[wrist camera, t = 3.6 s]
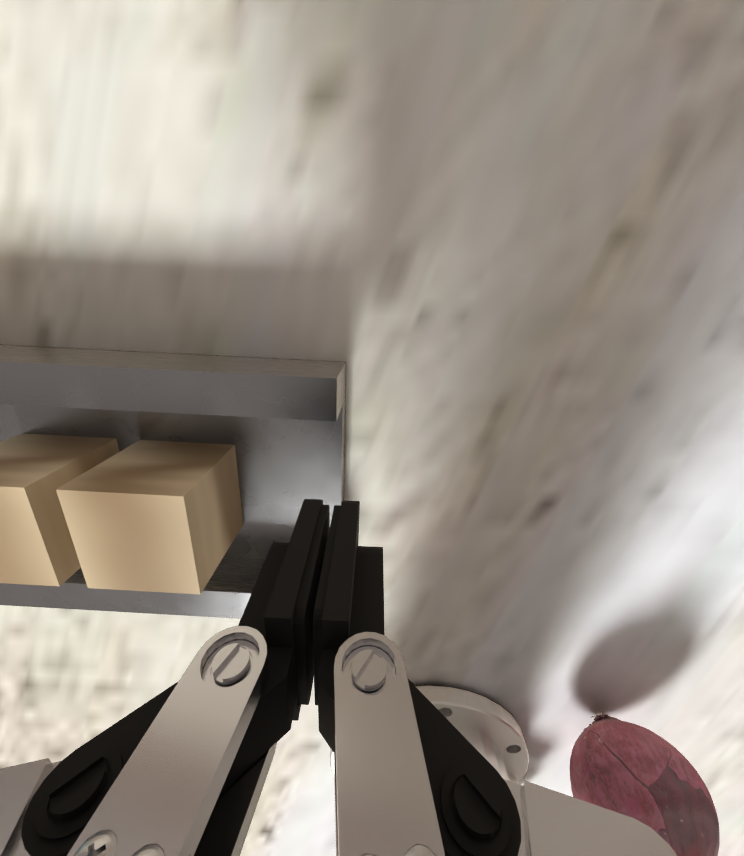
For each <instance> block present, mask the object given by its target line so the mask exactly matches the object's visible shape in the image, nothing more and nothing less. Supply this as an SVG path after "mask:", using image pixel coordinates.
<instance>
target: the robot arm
mask: <svg viewBox="0 0 744 856" xmlns="http://www.w3.org/2000/svg"><path fill="white" fill-rule="evenodd" d="M359 505H360V502H359V501H342V502H341V505H334V510H333V515H332V520H331V525H330V507H329V505H323V500H319V499H304V501H303V503H302V506H301V509H300V512H299V515H298V518H297V521H296V524H295V527H294V530H293V533H292V536H291V539H290V542H289V543H280V542H274V543H273V544H272V545H271V547H270V549H269V552H268V554H267V556H266V559H265V561H264V564H263V566H262V569H261V571H260V574H259V576H258V579H257V581H256V584H255V586H254V588H253V591H252V593H251V596H250V598H249V601H248V603H247V606H246V608H245V611H244V613H243V616H242V618H241V620H240V623H239V625H238V626H235V627H231V628H227V629H225V630H223V631H221V632H219V633H217V634H215V635H214V636H213V637H211V638H210V639H209V640H208V641H206V642H205V644H204V645H203V646H202V647H201V649H200V650H199V651H198V652H197V654H196V655H195V657H194V659H193V660H192V662H191V663H190V665H189V666H188V668H187V669H186V671H185V673H184V674H183V676H182V677H181V679H180V680H179V681H178V682H177V683H175V684H174V685H172V686H171V687H169V688H168V689H166V690H165V691H163V692H162V693H160V694H159V695H157V696H156V697H154V698H153V699H151V700H150V701H148V702H147V703H145V704H144V705H142V706H141V707H139V708H138V709H136V710H135V711H133V712H132V713H130V714H129V715H127V716H126V717H124V718H123V719H121V720H120V721H118V722H117V723H115V724H114V725H112V726H111V727H109V728H108V729H106V730H105V731H103V732H102V733H100V734H99V735H97V736H96V737H94V738H93V739H91V740H90V741H88V742H87V743H85V744H84V745H82V746H81V747H79V748H78V749H76V750H75V751H74V752H73V753H71V754H70V755H69V756H68V757H66V758H65V759H64V760H63V761H59V762H55V763H51V761H50V759H49V758H47V759H43V760H38V761H34V762H29V763H25V764H20V765H16V766H11V767H7V768H2V769H0V856H240V853H241V850H242V847H243V844H244V841H245V838H246V835H247V832H248V830H249V827H250V824H251V821H252V818H253V815H254V812H255V809H256V806H257V803H258V800H259V797H260V794H261V791H262V788H263V786H264V783H265V780H266V777H267V774H268V771H269V768H270V765H271V762H272V759H273V756H274V753H275V749H276V744H277V741H278V740H280V739H281V738H282V737H283V736H284V735H285V734H286V733H287V732H288V731H289V730H290V729H291V723H292V720H298V718H299V712H300V707H301V704H305V705H308V704H309V701H310V696H311V690H312V683H313V677H314V686H315V705H318V712H319V731H320V733H321V734H322V736H323V737H324V739H325V740H326V742H327V743H328V745H329V746H330V748H331V752H330V766H331V769H332V772H333V774H334V785H335V826H336V856H677V855H676V853H675V852H674V851H673V849H672V848H671V847H670V845H669V844H668V843H667V842H666V841H665V840H664V839H663V838H662V837H661V836H659V835H658V834H657V833H656V832H655V831H654V830H653V829H652V828H651V827H649V826H647V825H645V824H643V823H642V822H640V821H638V820H636V819H634V818H632V817H629V816H626V815H623V814H620V813H617V812H614V811H611V810H608V809H606V808H603V807H600V806H597V805H594V804H591V803H588V802H585V801H582V800H579V799H577V798H574V797H571V796H568V795H565V794H562V793H559V792H556V791H553V790H551V789H548V788H545V787H542V786H539V785H536V784H533V783H530V782H527V781H523V783H522V785H520V784H521V782H522V780H523V778H524V776H525V774H526V772H527V770H528V764H529V755H528V749H527V745H526V743H525V740H524V737H523V734H522V731H521V729H520V726H519V725H518V723H517V722H516V720H515V719H514V718H513V716H512V715H511V714H510V713H508V712H507V711H506V710H505V709H504V708H502V707H501V706H500V705H498V704H496V703H495V702H493V701H491V700H489V699H487V698H486V697H484V696H481V695H478V694H475V693H473V692H470V691H466V690H462V689H457V688H452V687H444V686H430V685H429V686H414V684H413V683H412V682H411V681H410V680H409V679H408V678H407V674H406V669H405V664H404V660H403V658H402V655H401V652H400V650H399V649H398V647H397V646H396V645H395V643H394V642H393V641H391V640H390V639H389V638H387V637H386V636H384V589H383V547H365V546H358V533H359Z"/></svg>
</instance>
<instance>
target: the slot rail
mask: <svg viewBox="0 0 744 856" xmlns="http://www.w3.org/2000/svg"><path fill="white" fill-rule="evenodd" d="M345 380H346V362H333V361H313V360H293V359H273V358H253V357H233V356H213V355H193V354H173V353H153V352H133V351H113V350H93V349H73V348H53V347H33V346H13V345H0V442H1V441H4V440H6V439H9V438H12V437H14V436H17V435H20V434H41V435H61V436H80V437H99V438H116V439H117V443H118V447H119V451H122V450H124V449H125V448H127V447H129V446H130V445H132V444H134V443H136V442H137V441H139V440H153V441H172V442H191V443H210V444H229V445H235V451H236V461H237V470H238V479H239V489H240V498H241V508H242V517H243V526H242V527H241V529H240V531H239V532H238V534H237V535H236V537H235V539H234V540H233V542H232V544H231V545H230V547H229V549H228V550H227V552H226V553H225V555H224V557H223V558H222V560H221V562H220V563H219V565H218V567H217V568H216V570H215V572H214V573H213V575H212V576H211V578H210V580H209V581H208V583H207V585H206V586H205V588H204V590H203V591H202V593H201V594H183V593H165V592H148V591H130V590H112V589H94V588H88V587H87V584H86V581H85V578H84V575H83V572H82V569H81V568H80V569H79V570H77V571H76V572H75V573H74V574H73V575H72V576H71V577H70V578H69V579H67V580H66V581H65V582H64V583H63V584H62V585H61V586H44V585H26V584H8V583H0V605H12V606H30V607H47V608H65V609H82V610H100V611H118V612H135V613H153V614H170V615H188V616H205V617H223V618H242V616H243V613H244V611H245V608H246V606H247V603H248V601H249V598H250V596H251V593H252V591H253V588H254V586H255V584H256V581H257V579H258V576H259V574H260V571H261V569H262V566H263V564H264V561H265V559H266V556H267V554H268V552H269V549H270V547H271V545H272V544H273V543H274V542H280V543H289V542H290V539H291V536H292V533H293V530H294V527H295V524H296V521H297V518H298V515H299V512H300V509H301V506H302V503H303V501H304V499H319V500H323V505H329V507H330V525H331V520H332V515H333V510H334V505H341V502H342V501H343V492H344V436H345Z"/></svg>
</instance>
